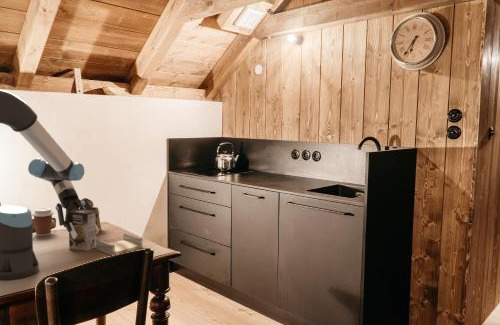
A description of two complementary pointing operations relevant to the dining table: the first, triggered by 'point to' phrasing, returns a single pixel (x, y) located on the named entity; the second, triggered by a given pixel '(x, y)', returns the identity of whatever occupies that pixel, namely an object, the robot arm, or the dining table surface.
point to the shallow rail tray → (120, 245)
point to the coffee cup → (43, 221)
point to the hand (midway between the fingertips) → (86, 234)
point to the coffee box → (83, 229)
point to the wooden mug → (94, 210)
